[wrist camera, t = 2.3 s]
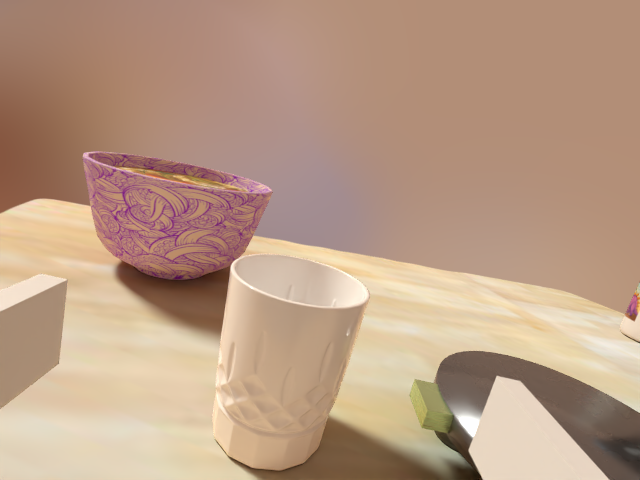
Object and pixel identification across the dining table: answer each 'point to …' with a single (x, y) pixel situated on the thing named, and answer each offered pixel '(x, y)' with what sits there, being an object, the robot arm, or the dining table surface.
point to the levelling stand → (548, 388)
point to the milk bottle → (632, 318)
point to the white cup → (283, 356)
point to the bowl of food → (171, 213)
